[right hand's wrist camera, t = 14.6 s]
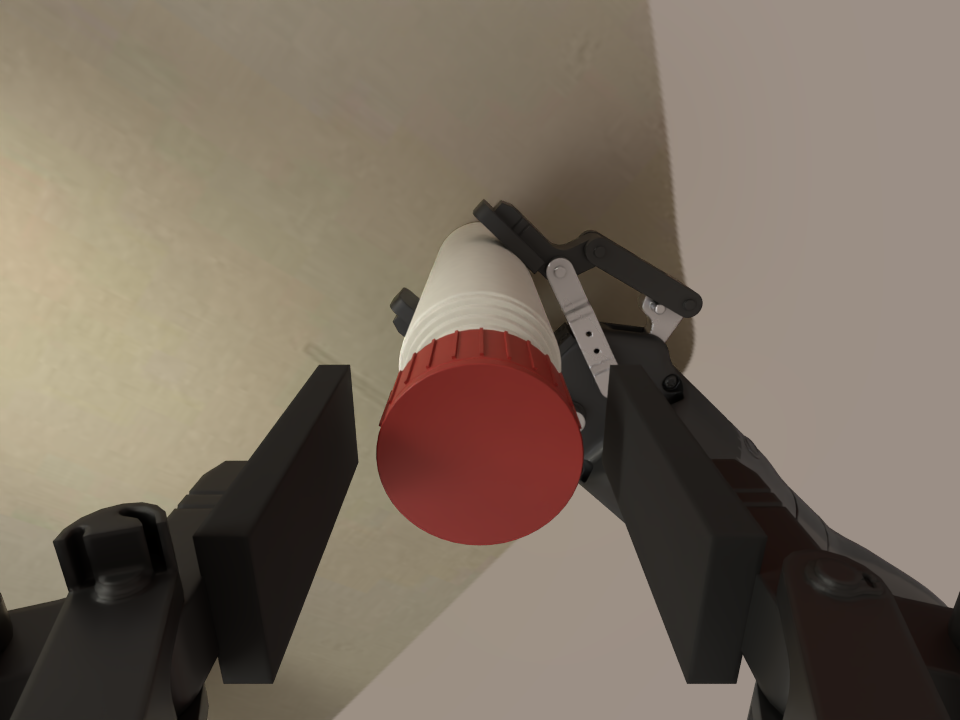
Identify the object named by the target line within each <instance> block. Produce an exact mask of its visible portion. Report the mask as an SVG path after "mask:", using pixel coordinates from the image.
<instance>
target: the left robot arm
mask: <svg viewBox="0 0 960 720" xmlns="http://www.w3.org/2000/svg"><path fill="white" fill-rule="evenodd" d="M473 214H474V216H475V217H476V218H477V219H478V220H479V221H480V222H481V223H482V224H483V225H484V226H485V227H486V228H487V229H488V230H489V231H490V232H491V233H492V234H493V235H494V236H495V237H497V238H498V239H499V240H500V241H501V242H502V243H503V244H504V245H505V246H506V247H507V248H508V249H509V250H510V251H511V252H512V253H513V254H514V255H516V256H517V257H518V258H519V259H520V260H521V261H522V262H523V263H524V264H525V265H526V266H527V267H528V268H529V269H530V270H531V271H532V272H533V273H534V274H535V273H536V272H537V271H539V272H540V273H541V274H542V275H543V276H544V277H545V278H546V279H547V280H548V281H549V284H550V286H551V288H552V290H553V292H554V294H555V296H556V299H557V301H558V303H559V305H560V307H561V309H562V312H563V314H564V316H565V318H566V320H567V322H568V325H567V324H566V323H564V324H563V325H562V326H561V327H560V328H559V329H558V330H557V331H555V332H554V335H555V338H556V340H557V344H558V347H559V350H560V356H561V373H562V375H563V377H564V380H565V383H566V386H567V388H568V391H569V393H570V396H571V399H572V402H573V404H574V407H575V410H576V413H577V415H578V418H579V421H580V424H581V427H582V429H580V432H581V435H582V440H583V447H584V461H583V467H582V473H581V476H580V479H579V484H580V485H581V486H582V487H584V488H585V489H586V490H587V491H588V492H589V493H591V494H592V495H593V496H594V497H595V498H596V499H598V500H599V501H600V502H601V503H602V504H603V505H605V506H606V507H607V508H608V509H609V510H610V511H612V512H613V513H614V514H615V515H616V516H617V517H618V518H620V519H621V520H622V521H623V522H624V519H623V516H622V514H621V511H620V509H619V506H618V503H617V501H616V498H615V496H614V493H613V490H612V488H611V485H610V483H609V480H608V478H607V475H606V472H605V470H604V467H603V465H602V452H603V441H604V429H605V417H606V405H607V394H608V382H609V370H610V365H641V366H642V367H643V368H644V370H645V371H646V372H647V374H648V375H649V376H650V378H651V379H652V381H653V382H654V383H655V385H656V386H657V387H658V389H659V390H660V391H661V393H662V394H663V395H664V397H665V398H666V399H667V401H668V402H669V404H670V405H671V406H672V408H673V409H674V410H675V412H676V413H677V414H678V416H679V417H680V418H681V420H682V421H683V422H684V424H685V425H686V427H687V428H688V429H689V431H690V432H691V433H692V435H693V436H694V437H695V439H696V440H697V441H698V443H699V444H700V445H701V447H702V448H703V450H704V451H705V452H706V454H707V455H708V456H709V458H710V459H735V460H737V461H739V462H740V463H742V464H743V465H745V466H747V467H748V468H750V469H751V470H753V471H755V472H756V473H757V474H758V475H759V476H760V477H761V478H762V479H763V481H764V482H765V483H766V484H767V485H768V486H769V488H770V489H771V493H774V494H775V495H776V496H777V497H778V498H779V499H780V501H781V502H782V503H783V507H786V508H787V509H788V510H789V511H790V512H791V514H792V515H793V516H794V517H795V518H796V519H797V521H798V522H799V523H800V524H801V525H802V526H803V528H804V529H805V530H806V531H807V532H808V534H809V535H810V536H811V537H812V538H813V539H814V541H815V542H816V543H817V544H818V545H819V546H820V548H821V549H822V550H826V551H829V552H833V553H836V554H840V555H843V556H846V557H848V558H850V559H852V560H854V561H856V562H858V563H860V564H862V565H864V566H866V567H867V568H869V569H870V570H871V571H873V572H874V573H875V574H876V575H878V576H879V577H880V578H882V580H883V581H884V582H885V584H886V585H887V586H888V588H889V589H890V591H891V592H892V594H893V595H895V596H899V597H903V598H907V599H912V600H916V601H921V602H926V603H930V604H935V605H940V606H944V607H947V606H946V605H945V603H944V602H942V601H941V600H940V599H939V598H938V597H937V596H936V595H935V594H933V593H932V592H931V591H930V590H929V589H927V588H926V587H925V586H923V585H922V584H920V583H919V582H918V581H916V580H915V579H913V578H912V577H910V576H909V575H907V574H906V573H904V572H902V571H901V570H899V569H898V568H896V567H894V566H893V565H891V564H890V563H888V562H886V561H885V560H883V559H882V558H880V557H879V556H877V555H875V554H874V553H872V552H871V551H869V550H867V549H866V548H864V547H862V546H860V545H859V544H857V543H855V542H853V541H851V540H849V539H847V538H845V537H843V536H842V535H840V534H839V533H837V532H835V531H834V530H832V529H831V528H829V527H828V526H827V525H826V524H825V522H824V521H823V520H822V519H821V518H820V517H819V516H818V515H817V514H816V513H815V512H814V511H813V510H812V509H811V508H810V507H809V506H808V505H807V504H806V503H805V502H804V501H803V500H802V499H801V498H800V497H799V496H798V495H797V494H796V493H795V492H794V491H793V490H791V489H790V488H789V487H788V486H787V484H786V483H785V482H784V481H783V480H782V479H781V477H780V476H779V475H778V473H777V472H776V471H775V469H774V468H773V466H772V465H771V464H770V462H769V461H768V460H767V458H766V457H765V456H764V455H763V454H762V453H761V452H760V451H759V450H758V449H757V447H756V446H755V445H754V443H753V442H752V441H751V440H750V439H749V438H747V437H746V436H744V435H743V434H742V433H741V432H740V431H739V430H738V429H737V428H736V427H735V426H734V425H733V424H732V423H731V422H730V421H729V420H728V419H727V418H726V417H725V416H724V415H723V414H722V413H721V412H720V411H719V410H718V409H717V408H716V407H715V406H714V405H713V404H712V403H711V402H710V401H709V400H708V399H707V398H706V397H705V396H704V395H703V394H702V393H701V392H700V391H699V390H698V389H696V387H695V386H693V385H692V384H691V383H690V382H689V381H688V380H687V379H686V378H685V377H684V376H683V375H682V374H681V373H680V372H679V371H678V370H677V369H676V368H675V367H674V366H673V364H672V362H671V360H670V356H669V351H668V348H667V346H666V344H665V342H666V341H667V339H668V338H669V337H670V335H671V334H672V332H673V331H674V330H675V328H676V327H677V326H678V324H679V323H680V321H681V320H682V319H683V317H685V318H690V317H693V316H695V315H696V314H698V313H699V311H700V310H701V308H702V298H701V297H700V295H699V294H697V293H696V292H694V291H693V290H692V289H690V288H689V287H687V286H686V285H684V284H683V283H681V282H680V281H678V280H676V279H675V278H673V277H671V276H670V275H668V274H666V273H665V272H663V271H661V270H660V269H658V268H656V267H655V266H653V265H651V264H650V263H648V262H646V261H645V260H643V259H641V258H640V257H638V256H636V255H635V254H633V253H631V252H630V251H628V250H626V249H625V248H623V247H621V246H620V245H618V244H616V243H615V242H613V241H611V240H610V239H608V238H606V237H605V236H603V235H601V234H600V233H598V232H596V231H594V230H588V231H585V232H583V233H582V234H581V235H580V236H579V238H577V239H575V240H573V241H571V242H569V243H567V244H563V245H556V244H553V243H551V242H550V241H548V240H547V239H546V238H545V237H544V236H543V235H542V234H541V233H540V232H539V231H538V230H537V229H536V228H535V227H534V226H533V225H532V224H531V223H530V222H529V221H528V220H527V219H526V218H525V217H524V216H523V215H522V214H521V213H520V212H519V211H518V210H517V209H516V208H515V207H514V206H513V205H512V204H510V203H507V202H505V201H502V200H500V202H499V203H498V204H497V205H496V206H495V207H494V208H493V207H492V206H491V205H490V204H489V203H488V202H487V201H486V200H484V199H483V200H482V201H481V202H480V204H479V205H478V206H477V207H476V208H475V209H474V210H473ZM595 266H596V267H598V268H600V269H602V270H603V271H605V272H607V273H608V274H610V275H612V276H613V277H615V278H617V279H619V280H620V281H622V282H624V283H625V284H627V285H629V286H630V287H632V288H634V289H636V290H637V291H639V292H641V293H640V295H639V297H638V306H639V308H640V309H641V310H642V311H643V312H644V313H645V314H646V316H647V324H646V326H645V328H644V327H637V326H629V325H621V324H613V323H605V322H598V320H597V317H596V315H595V313H594V311H593V309H592V307H591V305H590V303H589V301H588V299H587V297H586V294H585V292H584V290H583V288H582V285H581V283H580V281H579V279H578V277H577V275H579V274H581V273H583V272H585V271H587V270H589V269H591V268H593V267H595ZM419 300H420V299H419V298H418V297H417V296H416V295H415V294H414V293H412V292H411V291H410V290H409V289H407V288H403V289H402V290H401V291H400V292H399V293H398V294H397V295H396V296H395V298H394V299H393V301H392V302H391V304H390V307H391V309H392V310H393V311H394V313H395V314H397V315H396V317H395V319H394V321H393V323H394V325H395V327H396V328H397V330H398V332H399V333H400V334H401V335H403V336H404V337H405V336H406V333H407V331H408V328H409V326H410V323H411V320H412V318H413V315H414V313H415V310H416V308H417V305H418V303H419ZM624 523H625V522H624Z"/></svg>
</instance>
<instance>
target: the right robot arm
mask: <svg viewBox="0 0 960 720" xmlns="http://www.w3.org/2000/svg"><path fill="white" fill-rule="evenodd" d="M357 465H358V452H357V441H356V429H355V417H354V405H353V394H352V382H351V370H350V365H319V366H318V367H317V368H316V370H315V371H314V372H313V374H312V375H311V376H310V378H309V379H308V380H307V382H306V383H305V385H304V386H303V387H302V389H301V390H300V391H299V393H298V394H297V395H296V397H295V398H294V399H293V401H292V402H291V404H290V405H289V406H288V408H287V409H286V410H285V412H284V413H283V414H282V416H281V417H280V418H279V420H278V421H277V422H276V424H275V425H274V427H273V428H272V429H271V431H270V432H269V433H268V435H267V436H266V437H265V439H264V440H263V441H262V443H261V444H260V445H259V447H258V448H257V450H256V451H255V452H254V454H253V455H252V456H251V458H250V459H249V460H248V461H225V462H223V463H221V464H220V465H218V466H217V467H215V468H214V469H212V470H210V471H209V472H207V473H206V474H204V475H203V476H202V477H201V478H200V479H199V481H198V482H197V483H196V484H195V485H194V487H193V488H192V489H191V490H190V491H189V495H186V496H185V497H184V498H183V500H182V501H181V502H180V503H179V504H178V508H177V509H174V510H173V511H172V513H171V514H170V515H169V516H168V517H166V512H165V511H164V510H163V509H161V508H160V507H159V506H157V505H153V504H148V503H143V502H140V503H126V504H120V505H116V506H112V507H108V508H104V509H101V510H98V511H96V512H94V513H91V514H89V515H86V516H84V517H82V518H80V519H78V520H77V521H75V522H74V523H72V524H71V525H69V526H68V527H66V528H65V529H63V531H62V532H61V533H60V534H59V535H58V536H57V537H56V539H55V540H54V541H53V544H54V547H55V550H56V553H57V556H58V559H59V563H60V566H61V569H62V572H63V575H64V578H65V581H66V585H67V588H68V591H69V593H68V595H67V597H66V598H63V599H60V600H56V601H51V602H46V603H42V604H37V605H32V606H28V607H23V608H19V609H14V610H9V611H7V609H6V606H5V603H4V601H3V598H2V595H1V593H0V720H207V715H208V707H209V705H208V698H207V692H206V687H205V683H204V682H205V680H206V678H207V676H208V674H209V672H210V670H211V668H212V666H213V665H214V663H215V661H216V659H217V657H218V660H219V665H220V669H221V674H222V679H223V683H224V684H273V682H274V680H275V677H276V674H277V672H278V669H279V667H280V664H281V662H282V659H283V656H284V654H285V651H286V649H287V646H288V643H289V641H290V638H291V636H292V633H293V630H294V628H295V625H296V623H297V620H298V617H299V615H300V612H301V610H302V607H303V604H304V602H305V599H306V597H307V594H308V592H309V589H310V586H311V584H312V581H313V579H314V576H315V573H316V571H317V568H318V566H319V563H320V560H321V558H322V555H323V553H324V550H325V547H326V545H327V542H328V540H329V537H330V535H331V532H332V529H333V527H334V524H335V522H336V519H337V516H338V514H339V511H340V509H341V506H342V503H343V501H344V498H345V496H346V493H347V490H348V488H349V485H350V483H351V480H352V478H353V475H354V472H355V470H356V467H357ZM602 465H603V467H604V470H605V472H606V475H607V478H608V480H609V483H610V485H611V488H612V490H613V493H614V496H615V498H616V501H617V503H618V506H619V509H620V511H621V514H622V516H623V519H624V522H625V524H626V527H627V529H628V532H629V535H630V537H631V540H632V542H633V545H634V547H635V550H636V553H637V555H638V558H639V560H640V563H641V566H642V568H643V571H644V573H645V576H646V579H647V581H648V584H649V586H650V589H651V591H652V594H653V597H654V599H655V602H656V604H657V607H658V610H659V612H660V615H661V617H662V620H663V623H664V625H665V628H666V630H667V633H668V635H669V638H670V641H671V643H672V646H673V649H674V651H675V654H676V656H677V659H678V662H679V664H680V667H681V669H682V672H683V674H684V677H685V680H686V682H687V684H736V683H737V678H738V674H739V669H740V665H741V660H742V655H743V656H744V658H745V660H746V662H747V663H748V665H749V667H750V669H751V671H752V673H753V675H754V677H755V679H756V683H755V687H754V692H753V696H752V701H751V705H750V709H749V714H748V718H747V720H960V592H959V595H958V598H957V601H956V603H955V606H954V608H949V607H944V606H940V605H935V604H930V603H926V602H921V601H916V600H912V599H907V598H903V597H899V596H895V595H893V594H892V592H891V591H890V589H889V588H888V586H887V585H886V584H885V582H884V581H883V580H882V578H880V577H879V576H878V575H876V574H875V573H874V572H873V571H871V570H870V569H869V568H867V567H866V566H864V565H862V564H860V563H858V562H856V561H854V560H852V559H850V558H848V557H846V556H843V555H840V554H836V553H833V552H829V551H826V550H822V549H821V548H820V546H819V545H818V544H817V543H816V542H815V541H814V539H813V538H812V537H811V536H810V535H809V534H808V532H807V531H806V530H805V529H804V528H803V526H802V525H801V524H800V523H799V522H798V521H797V519H796V518H795V517H794V516H793V515H792V514H791V512H790V511H789V510H788V509H787V508H786V507H783V503H782V502H781V501H780V499H779V498H778V497H777V496H776V495H775V494H774V493H771V489H770V488H769V486H768V485H767V484H766V483H765V482H764V481H763V479H762V478H761V477H760V476H759V475H758V474H757V473H756V472H755V471H753V470H751V469H750V468H748V467H747V466H745V465H743V464H742V463H740V462H739V461H737V460H735V459H710V458H709V456H708V455H707V454H706V452H705V451H704V450H703V448H702V447H701V445H700V444H699V443H698V441H697V440H696V439H695V437H694V436H693V435H692V433H691V432H690V431H689V429H688V428H687V427H686V425H685V424H684V422H683V421H682V420H681V418H680V417H679V416H678V414H677V413H676V412H675V410H674V409H673V408H672V406H671V405H670V404H669V402H668V401H667V399H666V398H665V397H664V395H663V394H662V393H661V391H660V390H659V389H658V387H657V386H656V385H655V383H654V382H653V381H652V379H651V378H650V376H649V375H648V374H647V372H646V371H645V370H644V368H643V367H642V366H641V365H610V370H609V382H608V394H607V405H606V417H605V429H604V441H603V452H602Z"/></svg>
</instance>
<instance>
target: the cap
mask: <svg viewBox="0 0 960 720" xmlns="http://www.w3.org/2000/svg"><path fill="white" fill-rule="evenodd" d="M379 426H380V427H381V429H380V432H379V435H378V441H377V449H376V460H377V467H378V472H379V476H380V479H381V482H382V485H383V487H384V489H385V491H386V493H387V495H388V497H389V498H390V500H391V501H392V503H393V504H394V505H395V507H396V508H397V509H398V510H399V511H400V513H401V514H403V515H404V516H405V517H406V518H407V519H408V520H409V521H410V522H412V523H413V524H414V525H416V526H417V527H419V528H420V529H422V530H424V531H426V532H427V533H429V534H431V535H434V536H436V537H438V538H441V539H444V540H447V541H451V542H455V543H460V544H466V545H493V544H500V543H505V542H509V541H513V540H516V539H519V538H522V537H524V536H527V535H529V534H531V533H533V532H535V531H536V530H538V529H540V528H541V527H543V526H544V525H546V524H547V523H549V522H550V521H551V520H552V519H553V518H554V517H555V516H557V515H558V514H559V513H560V511H561V510H562V509H563V508H564V507H565V506H566V504H567V503H568V501H569V500H570V498H571V497H572V495H573V493H574V491H575V489H576V487H577V485H578V483H579V479H580V476H581V473H582V467H583V461H584V447H583V440H582V435H581V432H580V429H582V427H581V424H580V421H579V418H578V415H577V413H576V410H575V407H574V404H573V402H572V399H571V396H570V393H569V391H568V388H567V386H566V383H565V380H564V377H563V375H562V373H561V372H560V373H559V372H558V371H557V369H556V368H555V366H554V365H553V363H552V362H551V360H550V357H549V355H548V354H546V355H545V354H543V353H542V352H541V351H540V350H539V349H538V348H536V347H535V346H533V345H532V344H531V341H529V340H527V341H525V340H523V339H521V338H519V337H517V336H514V335H511V334H509V333H508V331H504V332H501V331H496V330H487V329H483V328H480V329H472V330H465V331H458V330H456V331H455V333H452V334H448V335H445V336H443V337H441V338H439V339H437V340H436V339H433V340H432V342H431V343H430V344H428V345H427V346H425V347H424V348H423V349H421V350H420V351H419V352H418V353H416V352H415V353H414V354H413V355H412V358H411V360H410V361H409V362H408V363H407V365H406V366H405V368H404V369H403V371H401V370H400V371H399V373H398V376H397V379H396V382H395V384H394V387H393V390H392V391H391V393H390V396H389V398H388V401H387V404H386V407H385V409H384V412H383V415H382V418H381V420H380V423H379Z"/></svg>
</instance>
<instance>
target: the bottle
mask: <svg viewBox="0 0 960 720" xmlns="http://www.w3.org/2000/svg"><path fill="white" fill-rule="evenodd" d="M480 328H483V329H487V330H496V331H501V332H504V331H508V333H509V334H511V335H514V336H517V337H519V338H521V339H523V340H525V341H527V340H529V341H531V344H532V345H533V346H535V347H536V348H538V349H539V350H540V351H541V352H542V353H543V354H545V355H546V354H548V355H549V357H550V360H551V362H552V363H553V365H554V366H555V368H556V369H557V371H558V372H559V373H560V372H561V356H560V350H559V347H558V344H557V340H556V338H555V335H554V333H553V330H552V328H551V325H550V323H549V320H548V318H547V315H546V313H545V310H544V308H543V305H542V302H541V300H540V297H539V295H538V292H537V290H536V287H535V285H534V282H533V280H532V277H531V275H530V272H529V270H528V267H527V266H526V265H525V264H524V263H523V262H522V261H521V260H520V259H519V258H518V257H517V256H516V255H514V254H513V253H512V252H511V251H510V250H509V249H508V248H507V247H506V246H505V245H504V244H503V243H502V242H501V241H500V240H499V239H498V238H497V237H495V236H494V235H493V234H492V233H491V232H490V231H489V230H488V229H487V228H486V227H485V226H484V225H483V224H482V223H481V222H475V223H469V224H466V225H463V226H461V227H459V228H457V229H456V230H454V231H453V232H452V233H451V234H450V235H449V236H448V237H447V238H446V239H445V241H444V242H443V244H442V246H441V248H440V250H439V252H438V255H437V257H436V260H435V262H434V265H433V267H432V270H431V272H430V275H429V278H428V280H427V283H426V285H425V288H424V290H423V293H422V295H421V298H420V300H419V303H418V305H417V308H416V310H415V313H414V315H413V318H412V320H411V323H410V326H409V328H408V331H407V333H406V336H405V338H404V341H403V344H402V347H401V351H400V357H399V371H400V370H401V371H403V369H404V368H405V366H406V365H407V363H408V362H409V361H410V360H411V358H412V355H413V354H414V353H415V352H416V353H418V352H419V351H420V350H421V349H423V348H424V347H425V346H427V345H428V344H430V343H431V342H432V340H433V339H436V340H437V339H439V338H441V337H443V336H445V335H448V334H452V333H455V331H456V330H458V331H465V330H472V329H480Z"/></svg>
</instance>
